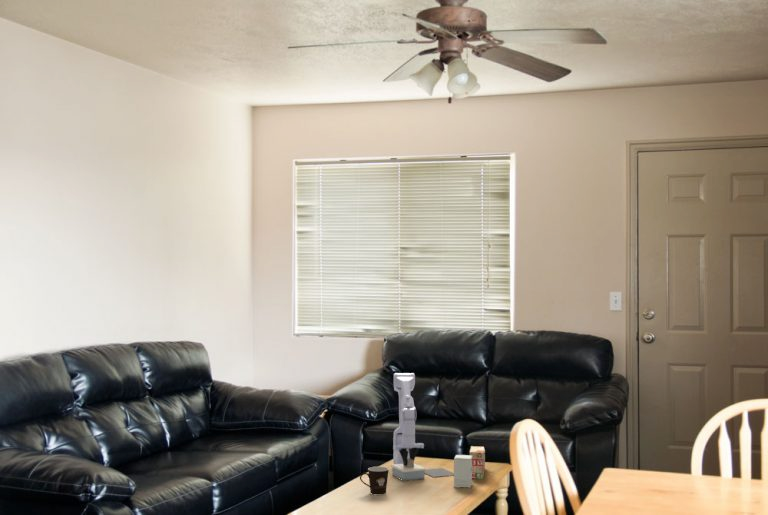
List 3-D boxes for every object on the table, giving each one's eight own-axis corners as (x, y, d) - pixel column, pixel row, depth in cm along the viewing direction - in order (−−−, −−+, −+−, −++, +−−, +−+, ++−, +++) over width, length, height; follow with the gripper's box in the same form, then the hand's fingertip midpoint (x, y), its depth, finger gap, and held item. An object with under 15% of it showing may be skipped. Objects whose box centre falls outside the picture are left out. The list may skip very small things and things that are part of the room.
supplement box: (470, 488, 381) (470, 458, 381) (453, 487, 382) (453, 457, 383) (472, 484, 388) (472, 455, 388) (455, 483, 390) (455, 454, 390)
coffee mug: (389, 490, 376) (389, 466, 376) (387, 495, 367) (387, 471, 368) (362, 489, 377) (362, 466, 377) (359, 495, 369) (359, 470, 369)
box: (392, 475, 403) (392, 466, 403) (412, 473, 408) (412, 464, 408) (404, 481, 392) (404, 472, 393) (424, 479, 397) (424, 470, 397)
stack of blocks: (471, 468, 419) (471, 442, 419) (485, 468, 418) (485, 442, 418) (469, 479, 398) (469, 451, 398) (483, 479, 397) (483, 452, 397)
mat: (419, 471, 412) (419, 470, 412) (442, 468, 417) (442, 468, 417) (433, 477, 400) (433, 476, 400) (456, 475, 405) (456, 474, 405)
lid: (391, 467, 404) (391, 456, 404) (412, 465, 408) (412, 455, 408) (403, 473, 392) (403, 462, 392) (425, 471, 397) (425, 460, 397)
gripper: (397, 437, 394) (397, 468, 393) (427, 435, 400) (426, 465, 399) (391, 434, 400) (390, 465, 400) (419, 432, 406) (419, 462, 406)
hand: (408, 465), depth 400 cm, fingers closed on lid, 2 cm apart
